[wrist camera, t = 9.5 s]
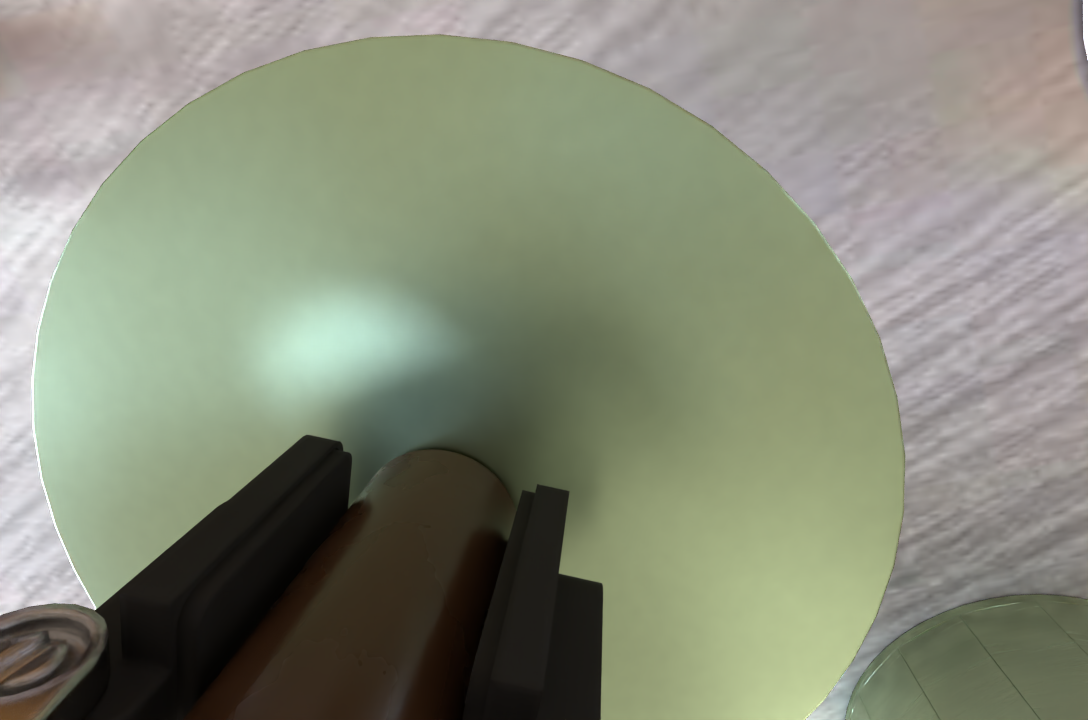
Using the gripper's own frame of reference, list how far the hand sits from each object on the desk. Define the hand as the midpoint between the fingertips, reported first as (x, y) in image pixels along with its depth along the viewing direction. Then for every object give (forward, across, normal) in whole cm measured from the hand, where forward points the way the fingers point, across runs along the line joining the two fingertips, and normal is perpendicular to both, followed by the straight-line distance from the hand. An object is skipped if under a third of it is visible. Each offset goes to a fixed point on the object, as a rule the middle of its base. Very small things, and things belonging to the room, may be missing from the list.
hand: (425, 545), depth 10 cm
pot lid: (+1, 0, 0) cm, 1 cm away
